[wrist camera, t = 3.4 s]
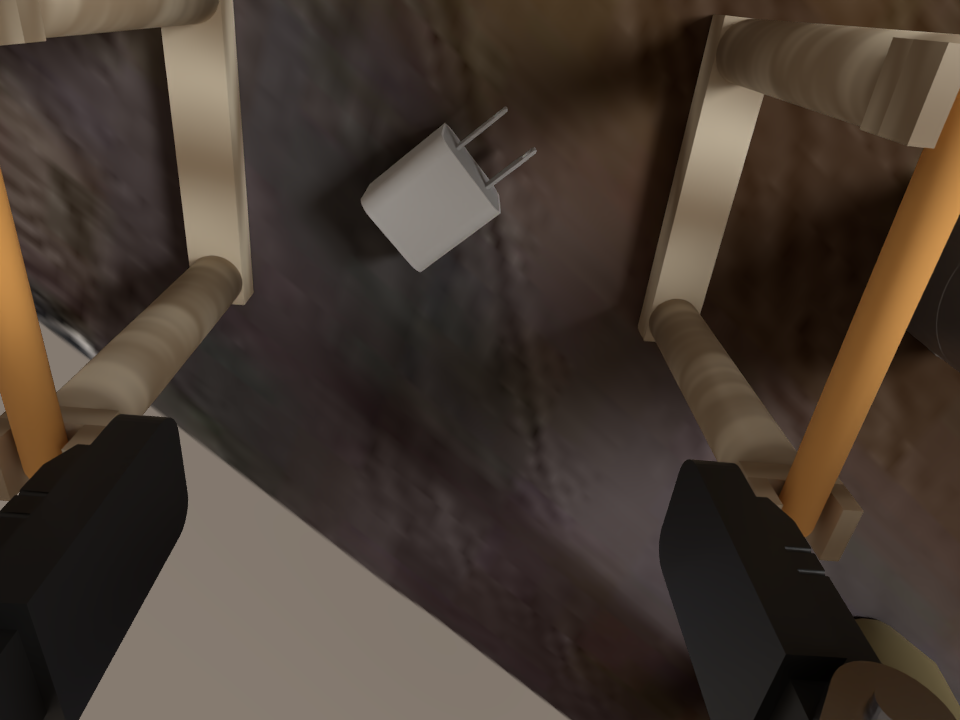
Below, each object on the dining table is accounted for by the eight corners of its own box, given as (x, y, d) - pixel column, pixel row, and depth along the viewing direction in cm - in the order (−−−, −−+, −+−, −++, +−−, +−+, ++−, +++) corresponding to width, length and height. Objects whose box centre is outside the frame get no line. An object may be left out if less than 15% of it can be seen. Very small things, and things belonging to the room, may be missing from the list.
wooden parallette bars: (160, -50, 26) (-216, -107, 12) (776, 22, 27) (1097, 48, 13) (198, 287, 33) (-9, 504, 19) (688, 332, 34) (836, 565, 20)
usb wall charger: (372, 180, 30) (357, 203, 27) (492, 82, 28) (494, 94, 25) (427, 246, 32) (420, 276, 28) (544, 157, 30) (553, 178, 26)
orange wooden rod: (945, 64, 14) (982, 69, 13) (998, 70, 14) (1038, 75, 13) (760, 519, 21) (775, 546, 20) (797, 521, 21) (814, 549, 20)
